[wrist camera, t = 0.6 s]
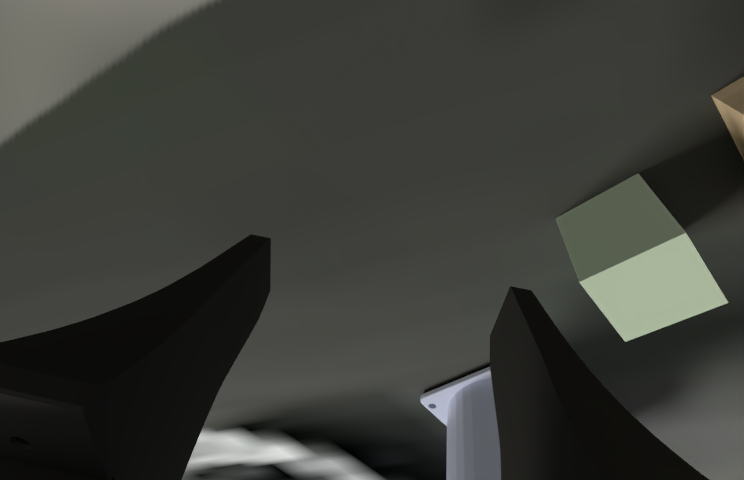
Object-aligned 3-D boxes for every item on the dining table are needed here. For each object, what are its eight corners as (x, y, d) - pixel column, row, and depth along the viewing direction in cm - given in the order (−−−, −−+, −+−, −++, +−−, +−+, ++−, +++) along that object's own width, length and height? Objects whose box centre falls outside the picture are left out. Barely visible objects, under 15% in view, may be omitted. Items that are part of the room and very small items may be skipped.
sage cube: (675, 233, 21) (728, 302, 17) (594, 271, 23) (625, 342, 19) (637, 172, 20) (685, 232, 16) (555, 218, 22) (579, 282, 18)
